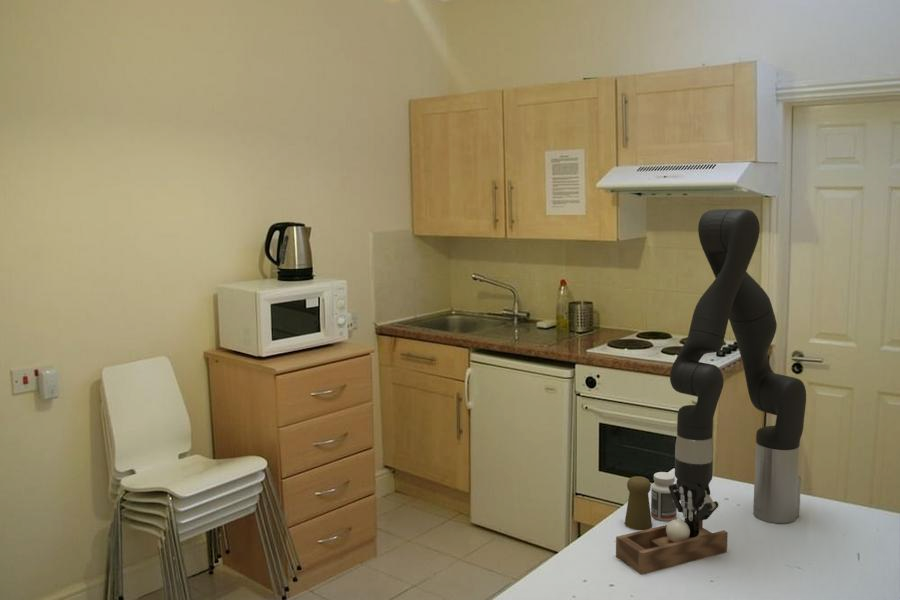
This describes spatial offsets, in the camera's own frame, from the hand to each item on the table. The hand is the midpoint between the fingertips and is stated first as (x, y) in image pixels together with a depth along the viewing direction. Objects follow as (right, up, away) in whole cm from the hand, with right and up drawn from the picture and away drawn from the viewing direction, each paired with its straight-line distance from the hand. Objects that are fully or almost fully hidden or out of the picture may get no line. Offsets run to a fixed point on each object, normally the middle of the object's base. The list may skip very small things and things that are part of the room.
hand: (691, 535), depth 165 cm
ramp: (-5, -3, -2) cm, 6 cm away
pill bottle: (-1, -1, +17) cm, 17 cm away
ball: (-3, +1, -2) cm, 4 cm away
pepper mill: (-8, -2, +13) cm, 16 cm away
